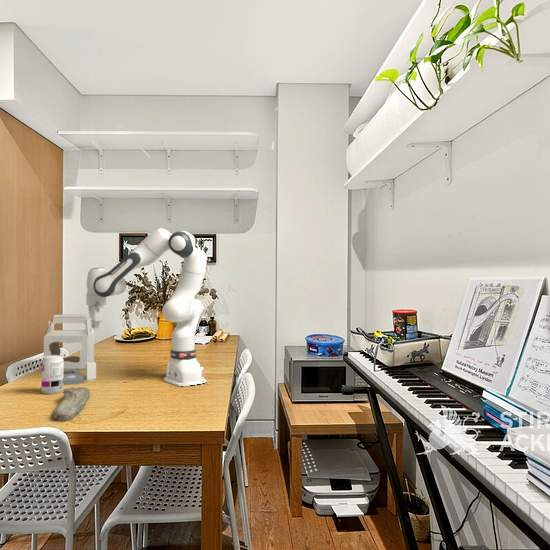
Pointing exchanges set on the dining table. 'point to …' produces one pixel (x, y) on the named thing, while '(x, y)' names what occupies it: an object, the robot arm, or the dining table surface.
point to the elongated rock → (72, 403)
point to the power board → (72, 377)
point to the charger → (90, 370)
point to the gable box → (70, 340)
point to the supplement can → (52, 374)
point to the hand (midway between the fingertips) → (95, 329)
